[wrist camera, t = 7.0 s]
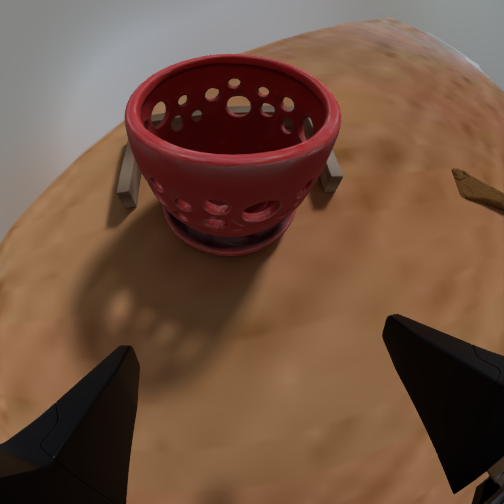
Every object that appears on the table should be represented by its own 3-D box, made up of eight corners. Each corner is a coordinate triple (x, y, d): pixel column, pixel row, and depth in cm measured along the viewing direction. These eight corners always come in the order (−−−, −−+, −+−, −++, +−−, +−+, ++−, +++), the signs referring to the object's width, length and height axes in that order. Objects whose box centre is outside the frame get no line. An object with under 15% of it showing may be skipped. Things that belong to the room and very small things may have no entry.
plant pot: (307, 271, 22) (369, 180, 11) (149, 263, 22) (85, 170, 11) (298, 154, 27) (324, 57, 16) (175, 149, 27) (157, 51, 16)
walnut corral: (335, 191, 26) (343, 176, 23) (125, 208, 23) (116, 193, 21) (309, 122, 30) (313, 107, 27) (139, 133, 28) (134, 118, 25)
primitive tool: (458, 198, 28) (472, 183, 25) (448, 168, 30) (460, 153, 27) (520, 225, 28) (532, 215, 25) (511, 199, 30) (522, 189, 27)
